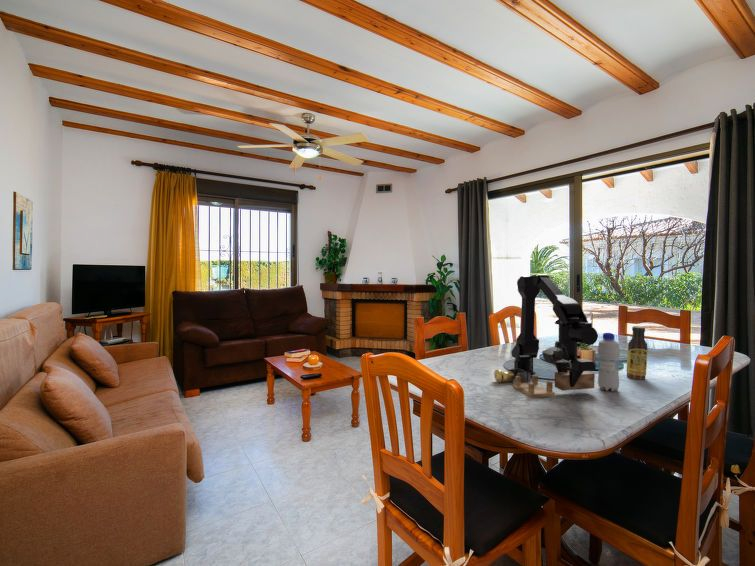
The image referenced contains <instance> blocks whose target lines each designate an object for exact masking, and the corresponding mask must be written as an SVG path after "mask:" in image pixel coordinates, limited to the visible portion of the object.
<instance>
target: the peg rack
mask: <svg viewBox="0 0 755 566" xmlns="http://www.w3.org/2000/svg"><path fill="white" fill-rule="evenodd" d="M531 375H532V377H531V380H532V381H530V382H526V383H521V377H519V376H515V379H514V382H515V383H513V384H512V385H513V388H515V389H516V390H519V391H521V392H522V393H523V394H525V395H527V396H529V397H530V398H533V399H536V398H546V397H550V398H551V397H556V392H555V391H554V390H553V386H554V383H553V381H550V380H548V381H546V387H544V386H542V385H540V384H539V375H537V374H531Z"/></svg>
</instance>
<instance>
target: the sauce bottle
mask: <svg viewBox="0 0 755 566" xmlns="http://www.w3.org/2000/svg"><path fill="white" fill-rule="evenodd" d="M631 329H632V336H631V339H630V340H629V342H628V344H627V345H628V347H627V348H628V349H627V358H626V377H627V378H629V379H633V380H642V381H643V380H646V376H647V367H648V366H647V365H648V343H647V342H646V340H645V332H646V327H643V326H632V328H631Z"/></svg>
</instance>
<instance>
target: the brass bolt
mask: <svg viewBox="0 0 755 566" xmlns="http://www.w3.org/2000/svg"><path fill="white" fill-rule="evenodd" d="M493 374H494V376H493V377H494V379H495V380H494V381H496V382H497V383H506V382H509V383H510V382H515V379H514V378H515V377H514V373H513V372H512V371H511V372H508V371H502V370H501V369H495V370H494V373H493Z"/></svg>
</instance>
